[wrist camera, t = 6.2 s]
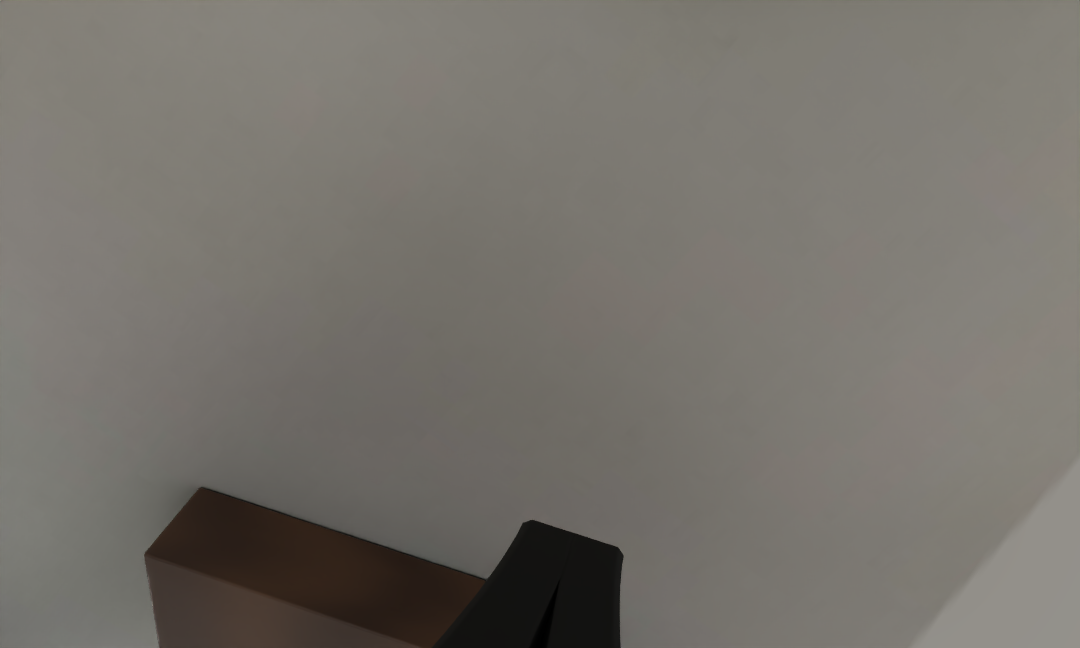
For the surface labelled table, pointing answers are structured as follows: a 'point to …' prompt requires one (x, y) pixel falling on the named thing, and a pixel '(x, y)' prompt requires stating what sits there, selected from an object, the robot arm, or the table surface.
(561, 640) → the robot arm
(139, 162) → the table surface
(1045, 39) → the table surface
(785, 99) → the table surface
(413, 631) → the dimmer panel
